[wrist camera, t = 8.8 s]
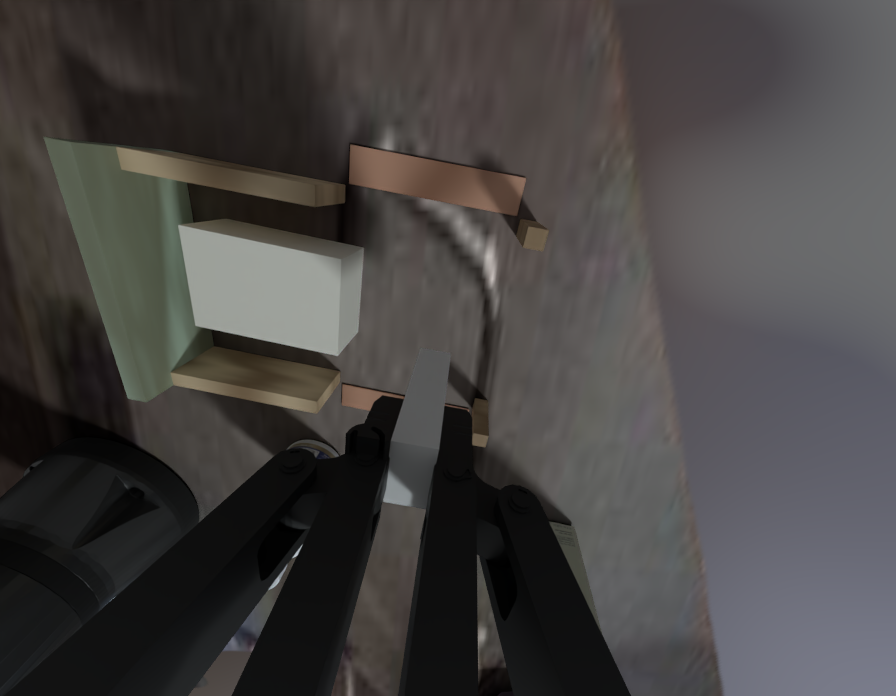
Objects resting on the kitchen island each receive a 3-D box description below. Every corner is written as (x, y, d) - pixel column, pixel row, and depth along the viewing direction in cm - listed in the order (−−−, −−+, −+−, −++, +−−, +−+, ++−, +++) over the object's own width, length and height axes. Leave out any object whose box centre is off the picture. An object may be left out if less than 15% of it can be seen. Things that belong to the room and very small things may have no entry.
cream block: (238, 304, 24) (195, 325, 21) (228, 218, 22) (178, 224, 18) (359, 330, 24) (337, 355, 21) (365, 246, 22) (341, 259, 18)
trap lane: (205, 377, 27) (136, 424, 22) (154, 107, 19) (23, 76, 14) (479, 431, 27) (478, 493, 21) (548, 182, 19) (573, 182, 13)
